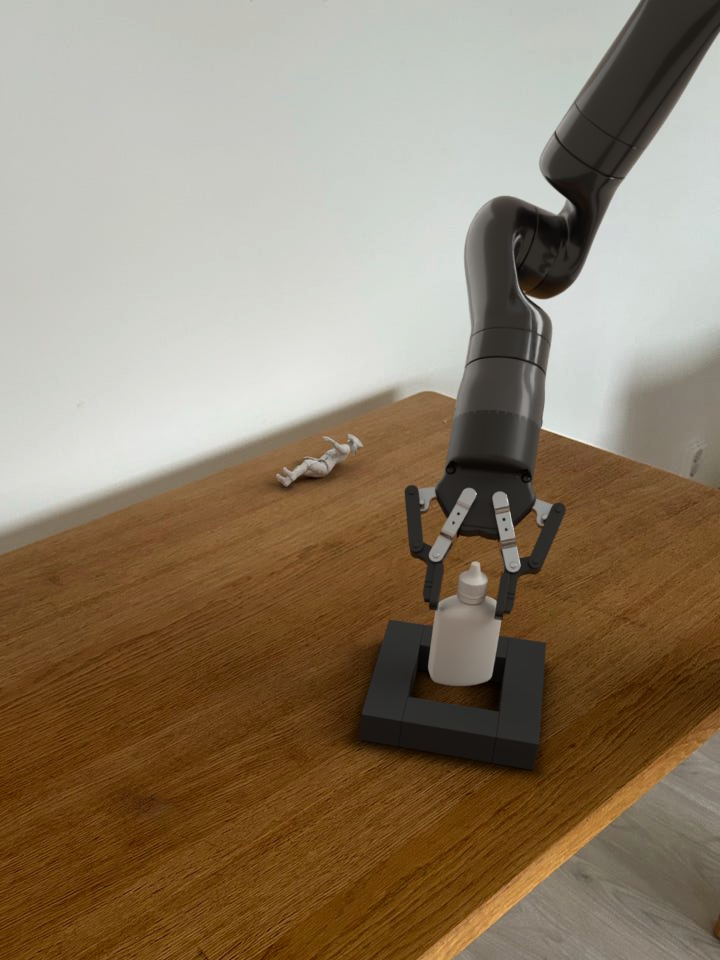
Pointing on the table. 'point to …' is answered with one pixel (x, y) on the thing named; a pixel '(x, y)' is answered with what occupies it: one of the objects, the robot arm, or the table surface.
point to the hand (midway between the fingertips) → (466, 612)
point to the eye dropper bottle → (465, 633)
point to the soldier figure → (322, 461)
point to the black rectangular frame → (449, 725)
